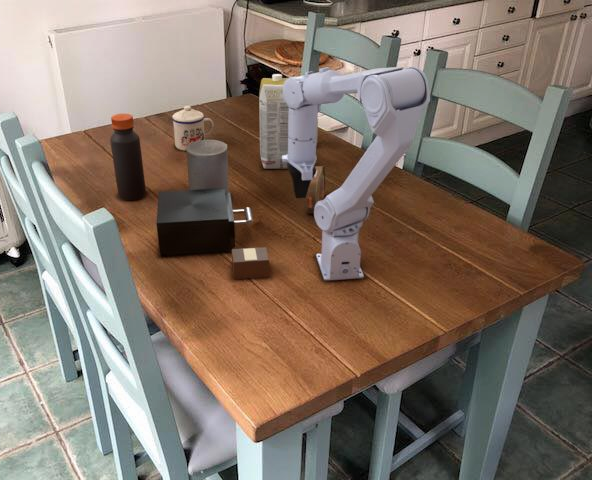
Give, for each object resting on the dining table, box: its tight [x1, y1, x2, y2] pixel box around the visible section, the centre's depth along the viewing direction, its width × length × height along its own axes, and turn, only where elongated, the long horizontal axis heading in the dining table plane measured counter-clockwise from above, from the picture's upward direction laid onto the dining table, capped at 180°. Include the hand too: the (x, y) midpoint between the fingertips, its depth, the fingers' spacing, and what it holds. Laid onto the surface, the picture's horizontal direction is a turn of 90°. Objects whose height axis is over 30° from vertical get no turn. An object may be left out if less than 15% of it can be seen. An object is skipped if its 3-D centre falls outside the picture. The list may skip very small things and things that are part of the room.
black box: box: [156, 188, 231, 258], centre depth 137 cm, size 15×15×8 cm
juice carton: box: [258, 73, 290, 170], centre depth 166 cm, size 9×8×24 cm
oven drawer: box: [225, 192, 254, 248], centre depth 137 cm, size 18×13×6 cm
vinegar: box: [109, 113, 147, 201], centre depth 151 cm, size 7×7×20 cm
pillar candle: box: [186, 139, 230, 193], centre depth 150 cm, size 10×10×15 cm
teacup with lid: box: [171, 105, 215, 152], centre depth 181 cm, size 12×9×12 cm
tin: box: [305, 165, 326, 214], centre depth 150 cm, size 15×3×8 cm, turn 168°
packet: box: [231, 246, 270, 280], centre depth 126 cm, size 5×7×4 cm
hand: (300, 196), depth 134 cm, fingers closed
